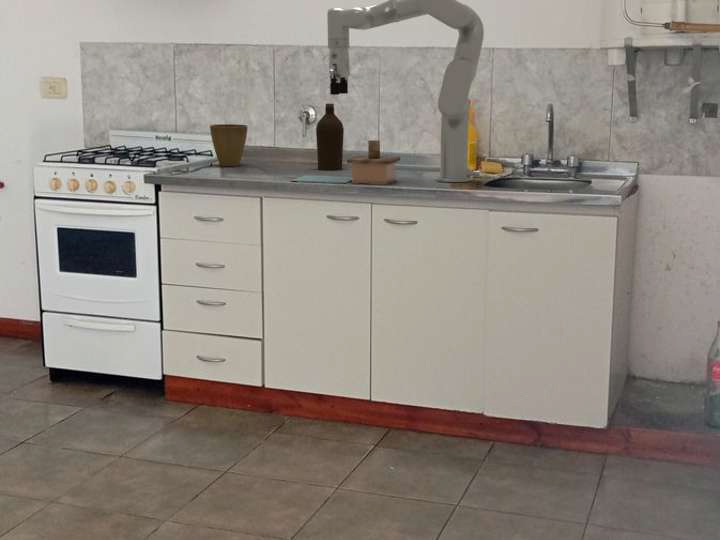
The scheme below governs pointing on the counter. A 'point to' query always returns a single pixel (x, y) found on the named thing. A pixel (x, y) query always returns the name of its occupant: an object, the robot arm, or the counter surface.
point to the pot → (373, 173)
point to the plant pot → (229, 142)
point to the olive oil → (329, 140)
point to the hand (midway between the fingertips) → (339, 94)
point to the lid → (373, 156)
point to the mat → (323, 179)
